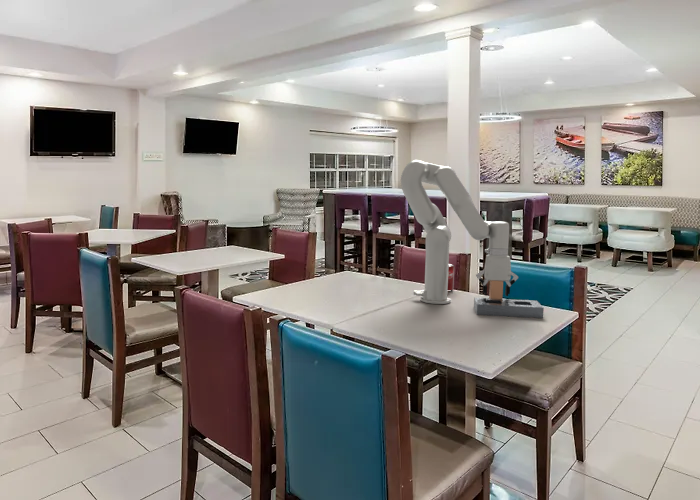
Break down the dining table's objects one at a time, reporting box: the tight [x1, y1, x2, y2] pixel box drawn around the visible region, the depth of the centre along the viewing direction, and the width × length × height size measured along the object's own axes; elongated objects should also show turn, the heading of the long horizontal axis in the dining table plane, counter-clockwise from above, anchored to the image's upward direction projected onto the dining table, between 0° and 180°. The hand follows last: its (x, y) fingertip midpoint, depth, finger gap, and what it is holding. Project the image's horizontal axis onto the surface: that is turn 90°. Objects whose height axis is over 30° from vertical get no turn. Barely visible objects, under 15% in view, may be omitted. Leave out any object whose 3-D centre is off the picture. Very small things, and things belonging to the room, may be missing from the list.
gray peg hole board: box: [473, 297, 545, 319], centre depth 195 cm, size 24×12×4 cm, turn 82°
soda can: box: [448, 263, 455, 291], centre depth 236 cm, size 7×7×12 cm
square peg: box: [488, 280, 504, 299], centre depth 206 cm, size 5×5×12 cm
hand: (495, 294), depth 206 cm, fingers open, 7 cm apart
